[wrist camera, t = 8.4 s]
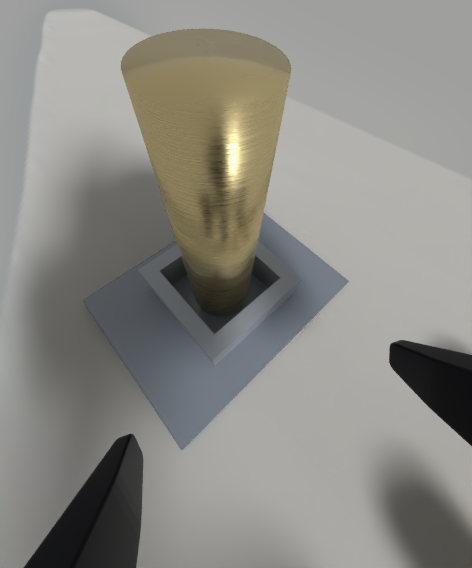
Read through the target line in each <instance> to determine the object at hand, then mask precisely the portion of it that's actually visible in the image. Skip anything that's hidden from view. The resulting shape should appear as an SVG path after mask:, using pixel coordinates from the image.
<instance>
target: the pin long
mask: <svg viewBox="0 0 472 568" xmlns="http://www.w3.org/2000/svg"><path fill="white" fill-rule="evenodd" d="M121 70H122V74H123V77H124V80H125V83H126V86H127V89H128V92H129V95H130V99H131V102H132V105H133V108H134V111H135V114H136V117H137V120H138V123H139V126H140V130H141V133H142V136H143V139H144V142H145V145H146V148H147V151H148V154H149V157H150V161H151V164H152V167H153V170H154V173H155V176H156V179H157V182H158V185H159V188H160V192H161V195H162V198H163V201H164V204H165V207H166V210H167V213H168V216H169V219H170V223H171V226H172V229H173V232H174V235H175V238H176V241H177V244H178V247H179V251H180V254H181V257H182V260H183V263H184V266H185V269H186V272H187V275H188V278H189V282H190V285H191V288H192V291H193V294H194V297H195V300H196V302H197V304H198V306H199V307H200V308H201V309H202V310H203V311H204V312H206V313H208V314H210V315H213V316H219V317H222V316H228V315H231V314H234V313H235V312H237V311H238V310H239V309H241V307H242V306H243V305H244V303H245V301H246V299H247V295H248V290H249V284H250V279H251V274H252V269H253V264H254V259H255V254H256V248H257V243H258V238H259V233H260V228H261V223H262V218H263V212H264V207H265V202H266V197H267V192H268V187H269V182H270V176H271V171H272V166H273V161H274V156H275V151H276V146H277V140H278V135H279V130H280V125H281V120H282V115H283V110H284V104H285V99H286V94H287V88H288V83H289V79H290V73H291V65H290V62H289V60H288V58H287V57H286V55H285V54H284V53H283V52H282V51H281V50H280V49H278V48H277V47H276V46H274V45H272V44H270V43H269V42H267V41H264V40H262V39H260V38H257V37H254V36H251V35H248V34H243V33H239V32H234V31H228V30H219V29H218V30H217V29H187V30H178V31H172V32H167V33H162V34H159V35H155V36H152V37H150V38H147V39H145V40H143V41H141V42H139V43H137V44H135V45H134V46H133V47H131V48H130V49H129V50H128V51H127V52H126V53H125V55H124V57H123V59H122V62H121Z"/></svg>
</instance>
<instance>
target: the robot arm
mask: <svg viewBox="0 0 472 568" xmlns="http://www.w3.org/2000/svg"><path fill="white" fill-rule="evenodd" d="M389 363H390V365H391V367H392V369H393V370H394V371H395V372H396V373H397V374H398V375H399V376H400V377H401V378H402V379H403V380H404V382H405V383H406V384H407V385H408V386H409V387H410V388H411V389H412V390H413V391H414V392H415V393H416V394H417V395H418V396H419V397H420V398H421V399H422V401H423V402H424V403H425V404H426V405H427V406H428V407H429V408H430V409H432V410H433V411H434V412H435V413H436V414H437V415H438V416H439V417H440V418H441V419H442V420H443V421H445V422H446V423H447V424H448V425H449V426H450V427H451V428H452V429H453V430H454V431H456V432H457V433H458V434H459V435H460V436H461V437H462V438H463V439H464V440H465V441H467V442H468V443H469V444H470V445H471V446H472V355H469V354H464V353H460V352H455V351H451V350H446V349H442V348H437V347H432V346H428V345H423V344H419V343H414V342H409V341H405V340H399V341H396V342H394V343H391V345H390V354H389ZM142 483H143V454H142V451H141V449H140V447H139V445H138V443H137V440H136V438H135V436H134V435H133V434H128V435H126V436H123V437H120V438H118V439H117V440H116V441H115V442H114V444H113V445H112V447H111V448H110V449H109V451H108V452H107V453H106V455H105V456H104V458H103V459H102V460H101V462H100V463H99V464H98V466H97V467H96V469H95V470H94V471H93V473H92V474H91V476H90V477H89V478H88V480H87V481H86V482H85V484H84V485H83V487H82V488H81V489H80V491H79V492H78V493H77V495H76V496H75V498H74V499H73V500H72V502H71V503H70V505H69V506H68V507H67V509H66V510H65V511H64V513H63V514H62V516H61V517H60V518H59V520H58V521H57V522H56V524H55V525H54V527H53V528H52V529H51V531H50V532H49V534H48V535H47V536H46V538H45V539H44V540H43V542H42V543H41V545H40V546H39V547H38V549H37V550H36V551H35V553H34V554H33V556H32V557H31V558H30V560H29V561H28V563H27V564H26V565H25V567H24V568H136V564H137V556H138V547H139V539H140V529H141V513H142Z"/></svg>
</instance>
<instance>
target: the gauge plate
mask: <svg viewBox="0 0 472 568" xmlns="http://www.w3.org/2000/svg"><path fill="white" fill-rule="evenodd" d="M348 282H349V281H348V280H347V279H346V278H344V277H343V276H342V275H341V274H339V273H338V272H337V271H336V270H334V269H333V268H332V267H331V266H329V265H328V264H327V263H326V262H324V261H323V260H322V259H321V258H319V257H318V256H317V255H316V254H314V253H313V252H312V251H311V250H309V249H308V248H307V247H306V246H304V245H303V244H302V243H301V242H299V241H298V240H297V239H296V238H294V237H293V236H292V235H291V234H289V233H288V232H287V231H286V230H284V229H283V228H282V227H281V226H279V225H278V224H277V223H276V222H274V221H273V220H272V219H271V218H270V217H268V216H267V215H266V214H265V213H263V218H262V223H261V228H260V233H259V238H258V243H257V248H256V254H255V259H254V264H253V269H252V274H251V279H250V284H249V290H248V295H247V299H246V301H245V303H244V305H243V306H242V307H241V309H239V310H238V311H237V312H235V313H234V314H231V315H228V316H222V317H219V316H213V315H210V314H208V313H206V312H204V311H203V310H202V309H201V308H200V307H199V306H198V304H197V302H196V300H195V297H194V294H193V291H192V288H191V285H190V282H189V278H188V275H187V272H186V269H185V266H184V263H183V260H182V257H181V254H180V251H179V247H178V244H177V241H175V242H173V243H172V244H170V245H169V246H167V247H166V248H164V249H162V250H161V251H159V252H158V253H156V254H155V255H153V256H152V257H150V258H148V259H147V260H145V261H144V262H142V263H141V264H139V265H138V266H136V267H134V268H133V269H131V270H130V271H128V272H127V273H125V274H123V275H122V276H120V277H119V278H117V279H116V280H114V281H113V282H111V283H109V284H108V285H106V286H105V287H103V288H102V289H100V290H99V291H97V292H95V293H94V294H92V295H91V296H89V297H88V298H86V299H84V300H83V302H84V303H85V305H86V306H87V308H88V309H89V311H90V312H91V314H92V315H93V317H94V319H95V320H96V322H97V323H98V325H99V326H100V328H101V329H102V331H103V332H104V334H105V335H106V337H107V338H108V340H109V341H110V343H111V344H112V346H113V347H114V349H115V350H116V352H117V353H118V355H119V356H120V358H121V359H122V361H123V362H124V364H125V365H126V367H127V368H128V370H129V371H130V373H131V374H132V376H133V378H134V379H135V381H136V382H137V384H138V385H139V387H140V388H141V390H142V391H143V393H144V394H145V396H146V397H147V399H148V400H149V402H150V403H151V405H152V406H153V408H154V409H155V411H156V412H157V414H158V415H159V417H160V418H161V420H162V421H163V423H164V424H165V426H166V427H167V429H168V430H169V432H170V433H171V435H172V436H173V438H174V440H175V441H176V443H177V444H178V446H179V447H180V449H181V450H183V449H184V448H185V447H186V446H187V445H188V444H189V443H190V442H191V441H192V440H193V439H194V438H195V437H196V436H197V435H198V434H199V433H200V432H201V431H202V430H203V429H204V428H205V427H206V426H207V425H208V424H209V423H210V422H211V421H212V419H213V418H214V417H215V416H216V415H217V414H218V413H219V412H220V411H221V410H222V409H223V408H224V407H225V406H226V405H227V404H228V403H229V402H230V401H231V400H232V399H233V398H234V397H235V396H236V395H237V394H238V393H239V392H240V391H241V390H242V389H243V388H244V387H245V386H246V385H247V384H248V383H249V382H250V381H251V380H252V379H253V378H254V377H255V376H256V375H257V374H258V373H259V372H260V371H261V370H262V369H263V368H264V367H265V366H266V365H267V364H268V363H269V362H270V361H271V360H272V359H273V358H274V357H275V356H276V355H277V354H278V353H279V352H280V351H281V350H282V349H283V348H284V347H285V346H286V345H287V344H288V343H289V342H290V341H291V340H292V339H293V337H294V336H295V335H296V334H297V333H298V332H299V331H300V330H301V329H302V328H303V327H304V326H305V325H306V324H307V323H308V322H309V321H310V320H311V319H312V318H313V317H314V316H315V315H316V314H317V313H318V312H319V311H320V310H321V309H322V308H323V307H324V306H325V305H326V304H327V303H328V302H329V301H330V300H331V299H332V298H333V297H334V296H335V295H336V294H337V293H338V292H339V291H340V290H341V289H342V288H343V287H344V286H345V285H346V284H347V283H348Z"/></svg>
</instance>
